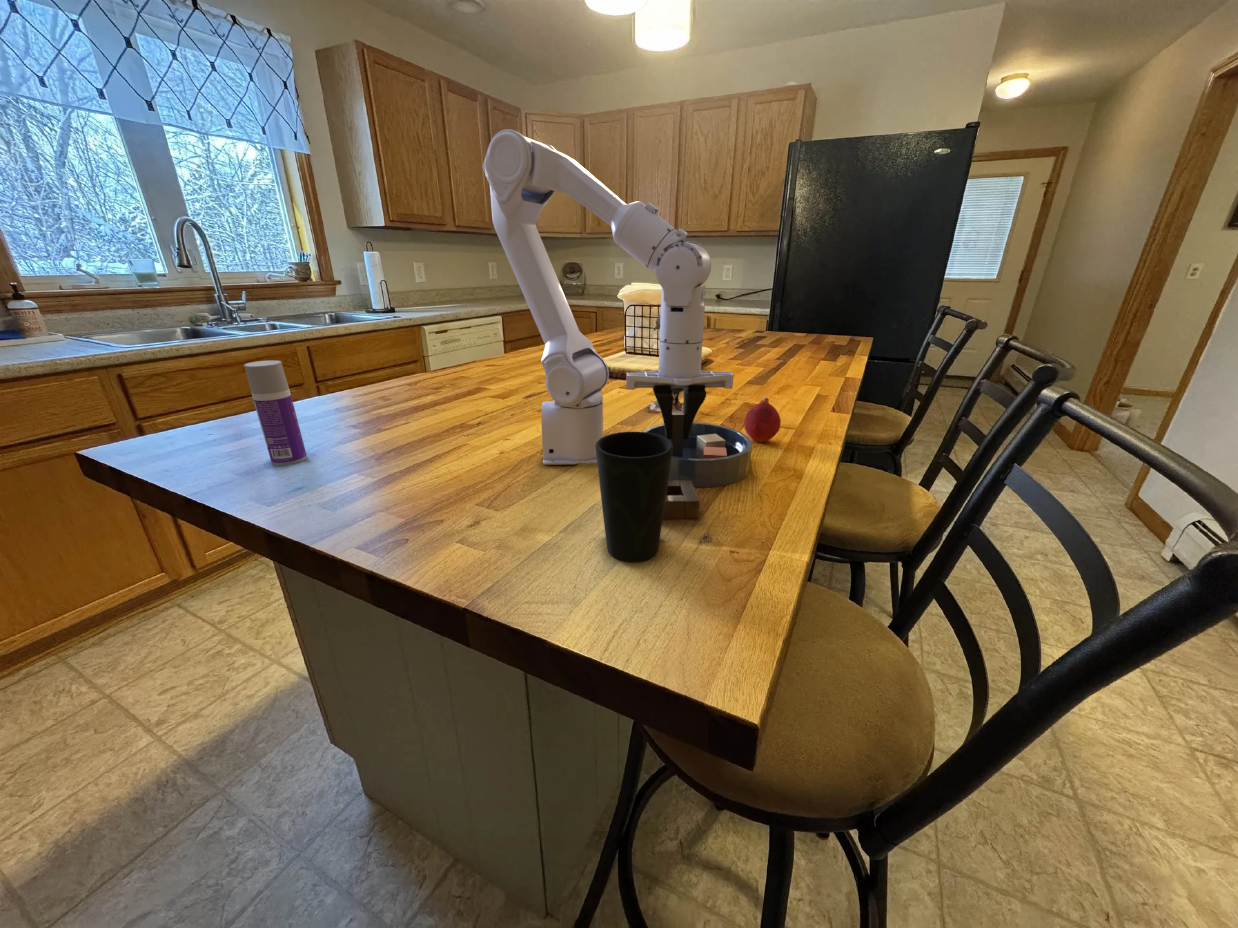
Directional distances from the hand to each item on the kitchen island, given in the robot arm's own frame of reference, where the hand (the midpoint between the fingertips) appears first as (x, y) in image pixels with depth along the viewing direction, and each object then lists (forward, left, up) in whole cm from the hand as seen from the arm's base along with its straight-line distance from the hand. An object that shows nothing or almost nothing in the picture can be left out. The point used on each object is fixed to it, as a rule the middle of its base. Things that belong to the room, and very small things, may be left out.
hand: (676, 437), depth 71 cm
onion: (+16, +11, -5) cm, 20 cm away
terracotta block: (+5, -2, -5) cm, 7 cm away
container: (-59, +5, -5) cm, 60 cm away
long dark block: (0, 0, -3) cm, 3 cm away
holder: (-2, -13, -5) cm, 14 cm away
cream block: (+6, +3, -5) cm, 8 cm away
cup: (-7, -21, -5) cm, 23 cm away
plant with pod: (+4, +31, -5) cm, 32 cm away
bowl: (+3, +1, -5) cm, 6 cm away
